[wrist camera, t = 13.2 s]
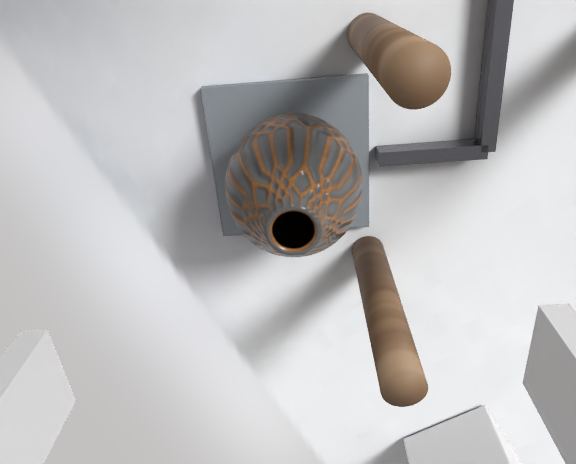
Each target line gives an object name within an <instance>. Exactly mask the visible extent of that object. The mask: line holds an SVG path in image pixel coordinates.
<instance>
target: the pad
mask: <svg viewBox="0 0 576 464" xmlns="http://www.w3.org/2000/svg"><path fill="white" fill-rule="evenodd" d="M200 90H201V96H202V102H203V109H204V115H205V121H206V128H207V134H208V140H209V147H210V153H211V159H212V166H213V172H214V178H215V185H216V191H217V197H218V204H219V210H220V216H221V223H222V229H223V235H224V236H229V235H244V234H243V233H242V232H241V231H240V229H239V228H238V226H237V225H236V223H235V221H234V219H233V217H232V215H231V213H230V210H229V207H228V203H227V199H226V192H225V178H226V172H227V167H228V164H229V161H230V158H231V156H232V154H233V151H234V149H235V148H236V146H237V144H238V143H239V141H240V140H241V139H242V138H243V136H244V135H245V134H246V133H247V132H248V131H249V130H250V129H251V128H253V127H254V126H255V125H257V124H258V123H260V122H262V121H264V120H266V119H268V118H270V117H273V116H276V115H280V114H286V113H302V114H308V115H312V116H315V117H318V118H320V119H322V120H324V121H326V122H328V123H330V124H331V125H333V126H334V127H335V128H336V129H338V130H339V131H340V132H341V133H342V134H343V135H344V136H345V138H346V139H347V140H348V142H349V143H350V145H351V146H352V148H353V150H354V152H355V154H356V156H357V159H358V161H359V164H360V169H361V173H362V183H363V185H362V197H361V202H360V206H359V209H358V212H357V214H356V216H355V218H354V220H353V222H352V224H351V226H350V227H349V228H356V227H369V76H368V74H355V75H342V76H329V77H316V78H304V79H291V80H278V81H265V82H253V83H240V84H227V85H214V86H202V87H201V89H200Z"/></svg>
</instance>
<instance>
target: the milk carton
mask: <svg viewBox="0 0 576 464" xmlns="http://www.w3.org/2000/svg"><path fill="white" fill-rule="evenodd" d="M403 442H404V446H405V450H406V455H407V459H408V463H409V464H522V462H521V460H520V458H519V456H518V454H517V452H516V451H515V449H514V448H513V446H512V444H511V443H510V441H509V440H508V438H507V437H506V435H505V434H504V432H503V431H502V429H501V428H500V426H499V425H498V423H497V422H496V420H495V419H494V417H493V416H492V414H491V413H490V411H489V410H488V408H487V407H486V406H485V405H484V406H481V407H479V408H476V409H474V410H472V411H469V412H467V413H464V414H462V415H459V416H457V417H455V418H452V419H450V420H447V421H445V422H443V423H440V424H438V425H435V426H433V427H431V428H428V429H426V430H423V431H421V432H419V433H416V434H414V435H411V436H409V437H407V438H404V439H403Z"/></svg>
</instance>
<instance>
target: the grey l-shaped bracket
mask: <svg viewBox="0 0 576 464" xmlns="http://www.w3.org/2000/svg"><path fill="white" fill-rule="evenodd" d="M513 3H514V0H488V8H487V18H486V28H485V38H484V48H483V58H482V68H481V78H480V88H479V98H478V108H477V118H476V128H475V138H474V139H468V140H454V141H440V142H426V143H412V144H398V145H384V146H376V161H377V163H378V165H379V166H392V165H406V164H420V163H435V162H449V161H464V160H478V159H487V156H488V152H495V150H496V142H497V134H498V125H499V117H500V109H501V101H502V93H503V85H504V76H505V68H506V60H507V52H508V44H509V35H510V27H511V19H512V11H513Z"/></svg>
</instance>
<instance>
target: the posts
mask: <svg viewBox="0 0 576 464" xmlns="http://www.w3.org/2000/svg"><path fill="white" fill-rule="evenodd" d="M348 41H349V44H350V46H351V47H352V48H353V50H354V51H355V52H356V54H357V55H358V56H359V57H360V59H361V60H362V61H363V63H364V64H365V65H366V67H367V68H368V69H369V71H370V72H371V73H372V74H373V76H374V77H375V78H376V80H377V81H378V82H379V84H380V85H381V86H382V87H383V89H384V90H385V91H386V93H387V94H388V95H389V97H390V98H391V99H392V100H393V101H394V102H395V103H396V104H398V105H399V106H401V107H403V108H407V109H421V108H425V107H427V106H429V105H431V104H433V103H434V102H436V101H437V100H438V99H439V98H440V97H441V96H442V95H443V94H444V92H445V91H446V89H447V87H448V84H449V81H450V77H451V66H450V62H449V59H448V57H447V55H446V53H445V52H444V51H443V50H442V49H441V48H440V47H438V46H437V45H435V44H433V43H431V42H429V41H427V40H425V39H423V38H421V37H419V36H417V35H415V34H413V33H411V32H409V31H407V30H405V29H403V28H401V27H399V26H397V25H395V24H393V23H391V22H389V21H388V20H386V19H384V18H382V17H380V16H378V15H376V14H373V13H364V14H361V15H359V16H357V17H356V18H355V19H354V20H353V21H352V22H351V24H350V26H349V29H348ZM352 254H353V259H354V264H355V269H356V273H357V278H358V283H359V288H360V293H361V298H362V303H363V308H364V313H365V318H366V322H367V327H368V332H369V337H370V342H371V347H372V352H373V357H374V362H375V367H376V371H377V376H378V381H379V386H380V391H381V395H382V397H383V399H384V400H385V401H386V402H387V403H389V404H391V405H394V406H399V407H405V406H411V405H414V404H416V403H418V402H420V401H421V400H422V399H423V398H424V397H425V396H426V394H427V391H428V384H427V381H426V378H425V375H424V372H423V369H422V366H421V363H420V359H419V356H418V353H417V350H416V347H415V344H414V341H413V338H412V335H411V332H410V328H409V325H408V322H407V319H406V316H405V313H404V310H403V307H402V304H401V300H400V297H399V294H398V291H397V288H396V285H395V282H394V279H393V276H392V272H391V269H390V266H389V263H388V260H387V257H386V254H385V251H384V248H383V245H382V243H381V241H380V240H379V239H377V238H375V237H371V236H366V237H362V238H360V239H359V240H357V241H356V242H355V243H354V245H353V248H352Z"/></svg>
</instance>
